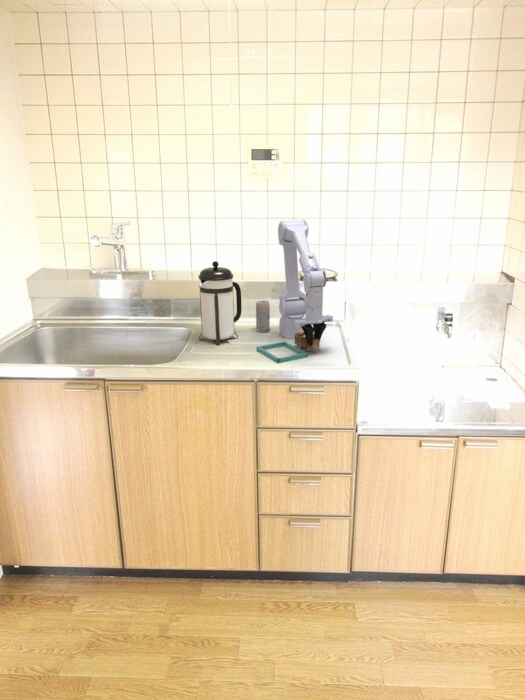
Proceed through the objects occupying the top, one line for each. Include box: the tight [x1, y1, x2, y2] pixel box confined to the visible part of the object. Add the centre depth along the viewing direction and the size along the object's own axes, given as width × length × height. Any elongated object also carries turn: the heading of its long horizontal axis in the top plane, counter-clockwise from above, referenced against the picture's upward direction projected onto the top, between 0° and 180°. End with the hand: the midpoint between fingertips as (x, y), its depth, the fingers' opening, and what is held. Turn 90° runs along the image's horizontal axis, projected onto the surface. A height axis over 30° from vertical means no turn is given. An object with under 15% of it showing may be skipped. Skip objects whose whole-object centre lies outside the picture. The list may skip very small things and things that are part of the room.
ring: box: [294, 333, 321, 349], centre depth 181 cm, size 11×7×3 cm, turn 29°
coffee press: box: [197, 260, 242, 346], centre depth 194 cm, size 17×16×30 cm
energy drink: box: [255, 300, 271, 334], centre depth 205 cm, size 5×5×12 cm
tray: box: [256, 341, 309, 364], centre depth 178 cm, size 15×12×2 cm
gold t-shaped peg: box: [300, 331, 308, 349], centre depth 182 cm, size 2×3×6 cm
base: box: [294, 344, 321, 353], centre depth 183 cm, size 8×8×1 cm
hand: (313, 344), depth 178 cm, fingers closed on ring, 2 cm apart
